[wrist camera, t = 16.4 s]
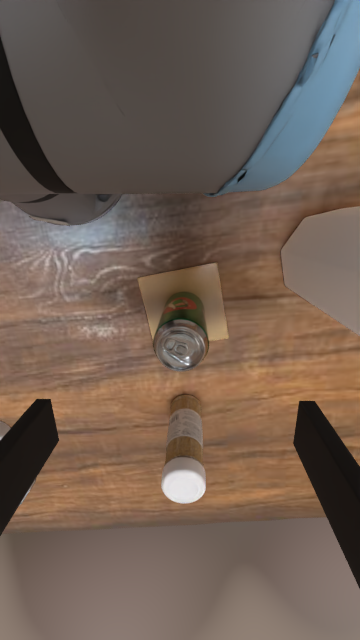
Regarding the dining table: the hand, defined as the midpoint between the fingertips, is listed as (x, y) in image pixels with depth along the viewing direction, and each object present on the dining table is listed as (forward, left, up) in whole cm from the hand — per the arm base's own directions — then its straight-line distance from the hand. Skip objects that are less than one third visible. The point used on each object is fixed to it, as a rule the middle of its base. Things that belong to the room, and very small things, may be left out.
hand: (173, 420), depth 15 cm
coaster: (0, 0, -22) cm, 22 cm away
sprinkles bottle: (+15, 0, -22) cm, 27 cm away
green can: (0, 0, -22) cm, 22 cm away
